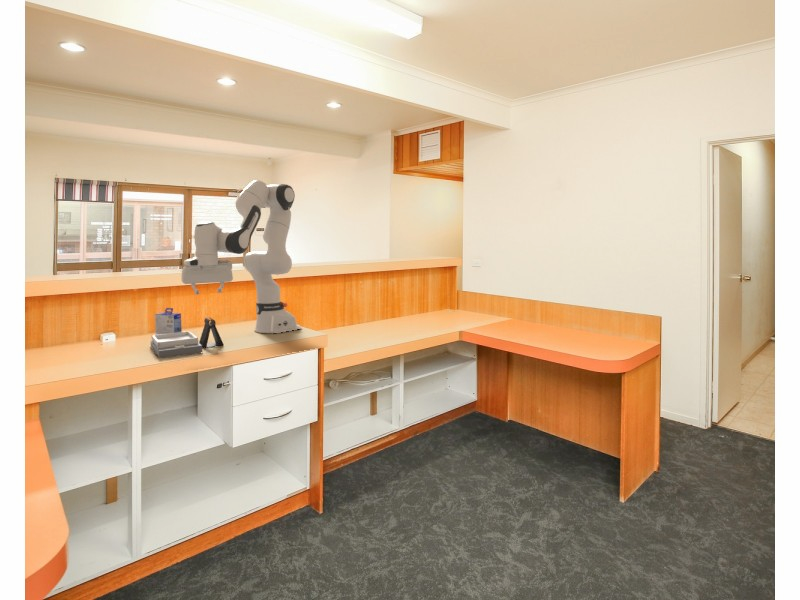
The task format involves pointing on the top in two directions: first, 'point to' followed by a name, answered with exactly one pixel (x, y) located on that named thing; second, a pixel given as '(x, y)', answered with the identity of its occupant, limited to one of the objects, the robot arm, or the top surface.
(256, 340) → the top surface
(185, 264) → the robot arm
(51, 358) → the top surface
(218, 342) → the black mini tripod
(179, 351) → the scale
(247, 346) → the top surface
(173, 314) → the ink cartridge box
